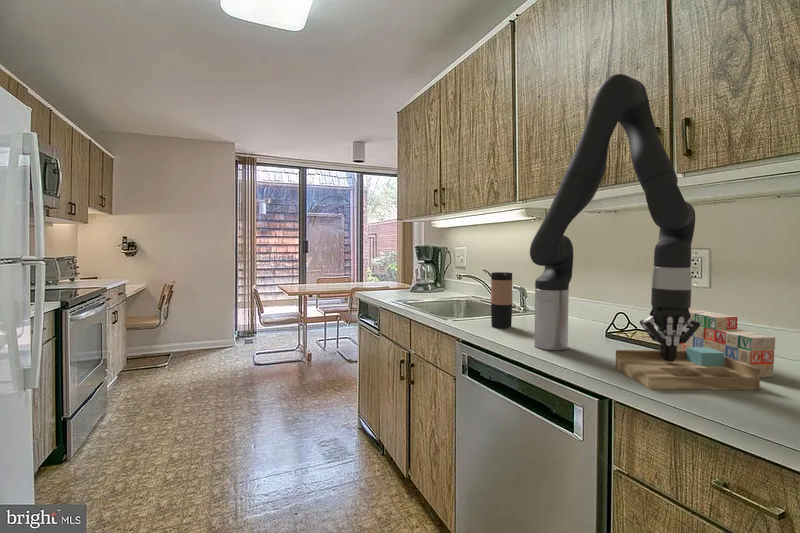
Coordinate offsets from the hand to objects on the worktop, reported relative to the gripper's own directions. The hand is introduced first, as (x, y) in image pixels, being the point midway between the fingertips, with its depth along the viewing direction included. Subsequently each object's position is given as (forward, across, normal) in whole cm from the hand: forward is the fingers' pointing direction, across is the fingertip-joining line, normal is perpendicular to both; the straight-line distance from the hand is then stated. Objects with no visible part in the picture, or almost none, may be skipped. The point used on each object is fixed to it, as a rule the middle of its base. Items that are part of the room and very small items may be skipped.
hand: (668, 360), depth 91 cm
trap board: (+3, +1, -4) cm, 5 cm away
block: (0, +8, 0) cm, 8 cm away
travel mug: (+4, -26, +53) cm, 59 cm away
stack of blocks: (+3, +18, +8) cm, 20 cm away
